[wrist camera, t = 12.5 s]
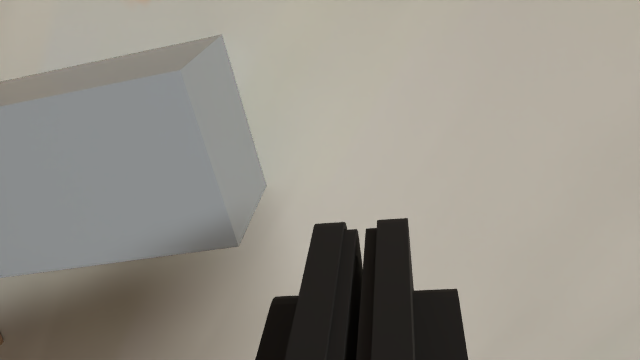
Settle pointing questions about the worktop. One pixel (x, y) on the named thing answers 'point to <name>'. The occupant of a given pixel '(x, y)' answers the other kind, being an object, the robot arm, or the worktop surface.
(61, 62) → the worktop surface
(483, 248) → the worktop surface
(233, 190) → the slate slab
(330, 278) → the robot arm
